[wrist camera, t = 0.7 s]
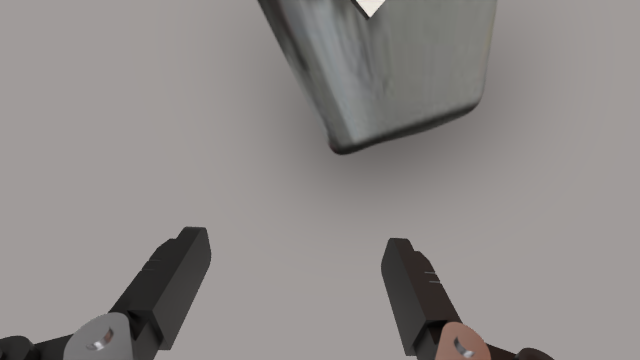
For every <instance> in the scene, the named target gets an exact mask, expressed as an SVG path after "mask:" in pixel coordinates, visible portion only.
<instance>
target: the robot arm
mask: <svg viewBox="0 0 640 360" xmlns="http://www.w3.org/2000/svg"><path fill="white" fill-rule="evenodd" d="M210 261H211V249H210V244H209V239H208V234H207V230H206V228H203V227H185V228H184V229H183V230H182V231H181V233H180V234H179V235H178V237H177V238H176V239H169V240H167V241H166V242H165V243H163V244H162V245H161V246H159V247H158V248H157V249H156V251H155V252H154V253H153V255H152V256H151V257H150V259H149V261H147V262H146V264H145V265H144V266H143V268H142V271H140V272H139V273H138V274H137V276H136V277H135V278H134V280H133V281H132V282H131V284H130V285H129V286H128V287H127V289H126V290H125V291H124V293H123V294H122V295H121V297H120V298H119V299H118V301H117V302H116V303H115V305H114V306H113V307H112V308H111V310H110V311H109V312H108V313H107V314H104V315H101V316H98V317H96V318H94V319H92V320H91V321H89V322H88V323H86V324H85V325H83V326H82V327H81V328H80V329H78V330H77V331H76V332H75V333H74V334H71V335H68V336H64V337H60V338H56V339H52V340H49V341H45V342H41V343H37V344H32V342H30V341H29V339H27V338H26V337H23V336H10V337H7V338H3V339H0V360H153V359H154V357H155V355H156V353H157V351H158V350H170V349H171V347H172V345H173V343H174V341H175V339H176V336H177V334H178V332H179V330H180V328H181V326H182V324H183V322H184V319H185V317H186V315H187V313H188V311H189V309H190V306H191V304H192V302H193V300H194V298H195V296H196V294H197V292H198V289H199V287H200V285H201V283H202V280H203V279H204V276H205V274H206V272H207V270H208V268H209V265H210ZM381 272H382V276H383V279H384V283H385V287H386V290H387V293H388V297H389V300H390V304H391V307H392V310H393V314H394V317H395V320H396V324H397V327H398V330H399V334H400V337H401V341H402V344H403V347H404V351H405V354H406V356H417V359H418V360H554V359H553V358H551V357H550V356H549V355H547V354H545V353H544V352H541V351H539V350H537V349H534V348H524V349H522V350H521V351H520V352H519V353H518V354H514V353H511V352H508V351H506V350H503V349H500V348H497V347H494V346H492V345H489V344H487V343H485V342H484V340H483V339H482V338H481V337H480V336H479V335H478V334H477V333H476V332H475V331H474V330H473V329H471V328H470V327H468V326H466V325H464V324H463V323H462V321H461V320H460V318H459V316H458V314H457V312H456V310H455V308H454V307H453V305H452V303H451V301H450V299H449V297H448V295H447V293H446V292H445V290H444V288H443V286H442V284H440V280H439V278H438V277H437V275H436V274H435V271H434V269H433V267H432V265H431V263H430V262H429V260H428V259H427V258H426V257H425V256H424V255H423V254H422V253H421V252H419V251H414V249H413V247H412V245H411V243H410V241H409V240H408V239H402V238H390V239H389V241H388V244H387V247H386V250H385V253H384V256H383V259H382V263H381Z"/></svg>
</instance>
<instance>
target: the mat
mask: <svg viewBox="0 0 640 360" xmlns="http://www.w3.org/2000/svg"><path fill="white" fill-rule="evenodd" d="M356 1H357V2H358V3H359V5H360V6H361V7H362V8H363V10H364V11H365V12H366V13H367V15H368V16H369V17H371V16H372V15H373V14H374V12H375V11H376V10H377V9H378V8H379V7H380V5H381V4H382V3H383V2H384V1H385V0H356Z"/></svg>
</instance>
